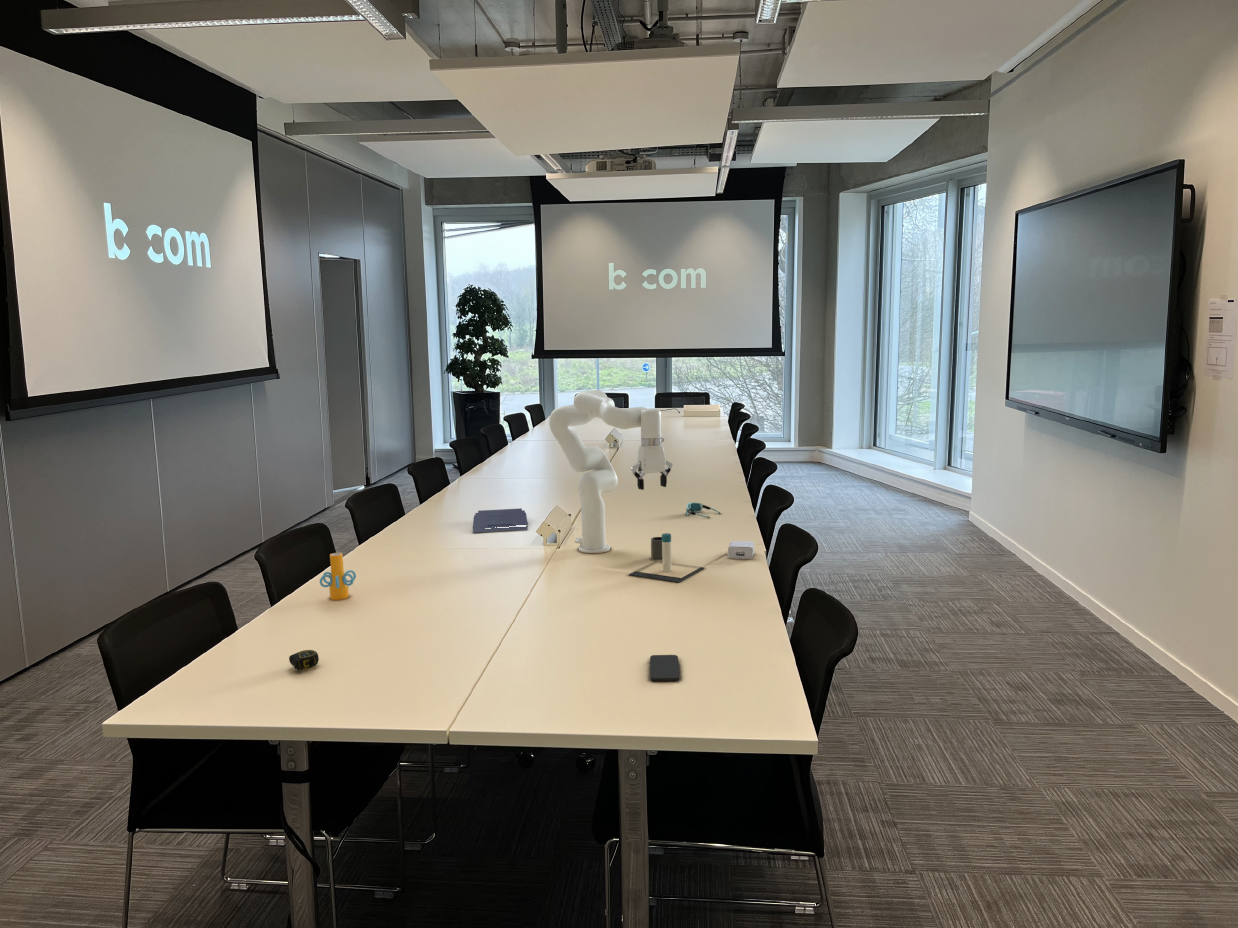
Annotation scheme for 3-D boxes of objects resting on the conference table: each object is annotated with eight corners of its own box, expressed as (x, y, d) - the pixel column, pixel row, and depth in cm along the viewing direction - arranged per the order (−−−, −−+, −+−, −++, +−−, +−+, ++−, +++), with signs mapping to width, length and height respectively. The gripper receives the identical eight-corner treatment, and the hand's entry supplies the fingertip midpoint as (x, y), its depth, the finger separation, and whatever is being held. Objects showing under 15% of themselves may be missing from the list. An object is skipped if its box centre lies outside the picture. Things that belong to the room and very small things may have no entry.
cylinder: (364, 594, 289) (361, 551, 287) (345, 603, 279) (341, 559, 277) (334, 591, 293) (331, 549, 291) (314, 600, 283) (310, 557, 281)
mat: (628, 575, 303) (628, 574, 303) (656, 561, 320) (656, 560, 320) (678, 582, 292) (678, 581, 292) (704, 568, 309) (704, 567, 309)
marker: (660, 571, 305) (660, 534, 303) (665, 569, 308) (664, 532, 306) (668, 572, 304) (668, 535, 302) (673, 570, 306) (672, 533, 304)
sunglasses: (695, 509, 410) (696, 499, 408) (722, 517, 401) (723, 507, 400) (680, 515, 398) (681, 505, 397) (707, 522, 390) (708, 512, 389)
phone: (650, 678, 210) (649, 654, 225) (650, 681, 211) (650, 657, 225) (680, 677, 210) (677, 654, 225) (680, 681, 210) (678, 657, 225)
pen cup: (648, 560, 323) (648, 539, 321) (656, 556, 328) (655, 536, 326) (661, 561, 320) (661, 541, 318) (669, 558, 325) (668, 537, 323)
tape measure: (289, 666, 227) (287, 652, 226) (315, 660, 231) (314, 646, 230) (295, 674, 221) (294, 660, 221) (322, 667, 225) (321, 654, 224)
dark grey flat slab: (526, 513, 406) (525, 506, 405) (528, 535, 377) (527, 527, 376) (474, 516, 402) (474, 508, 402) (472, 538, 374) (472, 530, 373)
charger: (755, 549, 334) (752, 559, 320) (731, 548, 336) (728, 558, 322) (755, 537, 334) (752, 546, 319) (731, 536, 336) (728, 546, 321)
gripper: (666, 439, 321) (666, 483, 323) (625, 443, 312) (627, 488, 315) (676, 441, 314) (677, 486, 317) (636, 445, 306) (637, 492, 309)
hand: (652, 487), depth 316 cm, fingers open, 9 cm apart
